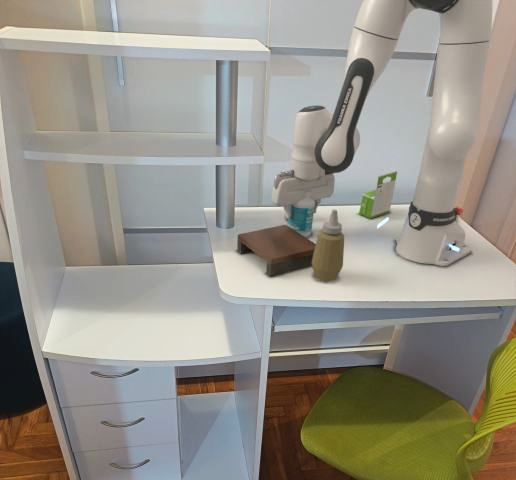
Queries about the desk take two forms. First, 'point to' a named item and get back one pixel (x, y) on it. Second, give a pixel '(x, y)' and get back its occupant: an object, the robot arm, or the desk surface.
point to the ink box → (378, 197)
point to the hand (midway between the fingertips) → (300, 215)
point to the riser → (278, 248)
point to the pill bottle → (302, 215)
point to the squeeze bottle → (329, 250)
